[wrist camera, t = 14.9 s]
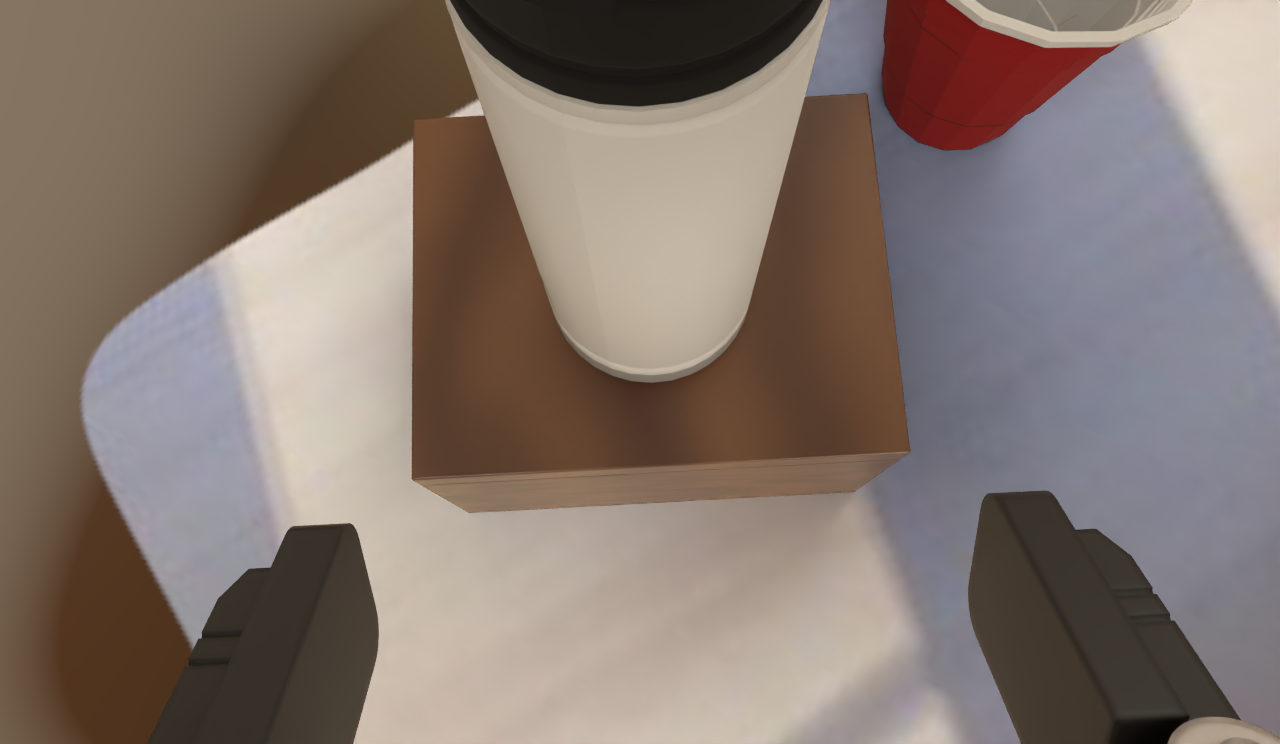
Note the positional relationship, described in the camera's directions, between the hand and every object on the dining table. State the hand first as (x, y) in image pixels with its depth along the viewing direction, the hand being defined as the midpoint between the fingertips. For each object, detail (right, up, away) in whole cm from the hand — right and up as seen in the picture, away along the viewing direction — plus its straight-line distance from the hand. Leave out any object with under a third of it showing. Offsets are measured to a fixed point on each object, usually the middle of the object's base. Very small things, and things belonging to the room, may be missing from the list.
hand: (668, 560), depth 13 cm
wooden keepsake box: (0, +3, +27) cm, 27 cm away
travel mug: (0, +5, +19) cm, 19 cm away
